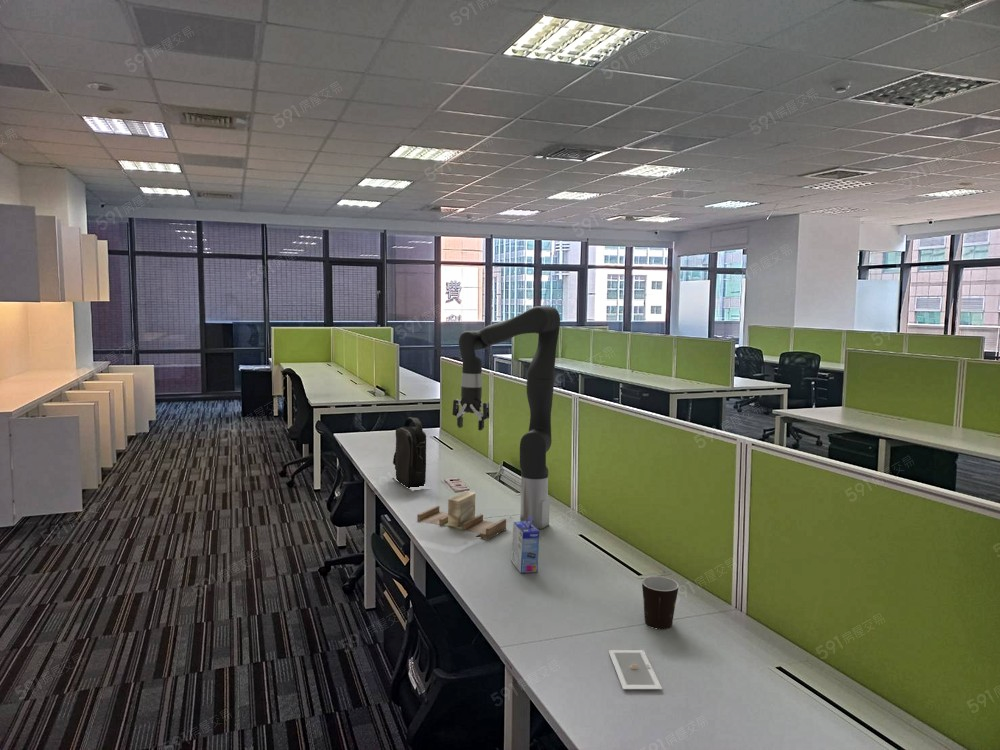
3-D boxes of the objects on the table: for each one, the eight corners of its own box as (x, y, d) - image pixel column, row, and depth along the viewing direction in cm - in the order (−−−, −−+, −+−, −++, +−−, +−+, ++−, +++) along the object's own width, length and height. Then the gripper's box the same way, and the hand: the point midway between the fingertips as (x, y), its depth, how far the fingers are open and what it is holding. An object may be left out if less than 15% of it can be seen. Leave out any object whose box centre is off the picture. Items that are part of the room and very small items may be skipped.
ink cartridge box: (539, 572, 193) (540, 523, 191) (520, 574, 191) (521, 524, 190) (528, 559, 202) (529, 512, 201) (510, 561, 201) (511, 513, 199)
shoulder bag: (432, 488, 276) (433, 421, 273) (411, 491, 271) (412, 422, 268) (410, 476, 295) (411, 412, 292) (391, 478, 291) (391, 414, 288)
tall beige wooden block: (475, 518, 234) (475, 493, 233) (458, 527, 224) (458, 501, 223) (464, 516, 236) (465, 491, 235) (447, 525, 226) (447, 499, 225)
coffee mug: (650, 611, 170) (652, 573, 168) (682, 622, 164) (684, 582, 163) (627, 628, 161) (629, 587, 159) (661, 640, 155) (663, 598, 154)
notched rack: (505, 529, 229) (506, 519, 228) (488, 539, 218) (488, 529, 218) (436, 515, 242) (437, 505, 242) (417, 524, 232) (417, 514, 231)
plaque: (437, 477, 291) (460, 475, 295) (437, 480, 292) (460, 478, 295) (457, 499, 260) (482, 497, 263) (457, 502, 260) (482, 500, 263)
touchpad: (622, 694, 134) (623, 683, 134) (608, 655, 149) (608, 645, 149) (662, 694, 134) (662, 683, 134) (643, 655, 149) (643, 645, 149)
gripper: (493, 385, 247) (492, 429, 249) (460, 382, 254) (458, 425, 256) (483, 388, 241) (482, 432, 243) (449, 384, 247) (448, 428, 249)
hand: (470, 428), depth 249 cm, fingers open, 8 cm apart
